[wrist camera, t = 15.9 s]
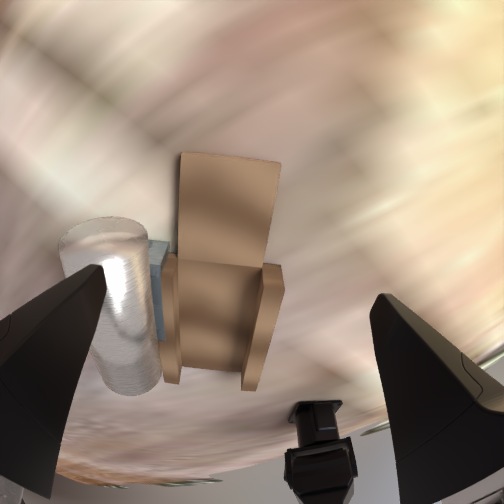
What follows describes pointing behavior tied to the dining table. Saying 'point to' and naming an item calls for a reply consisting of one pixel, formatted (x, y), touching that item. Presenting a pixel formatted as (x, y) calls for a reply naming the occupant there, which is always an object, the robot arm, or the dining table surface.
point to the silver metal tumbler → (119, 300)
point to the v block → (158, 281)
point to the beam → (221, 269)
